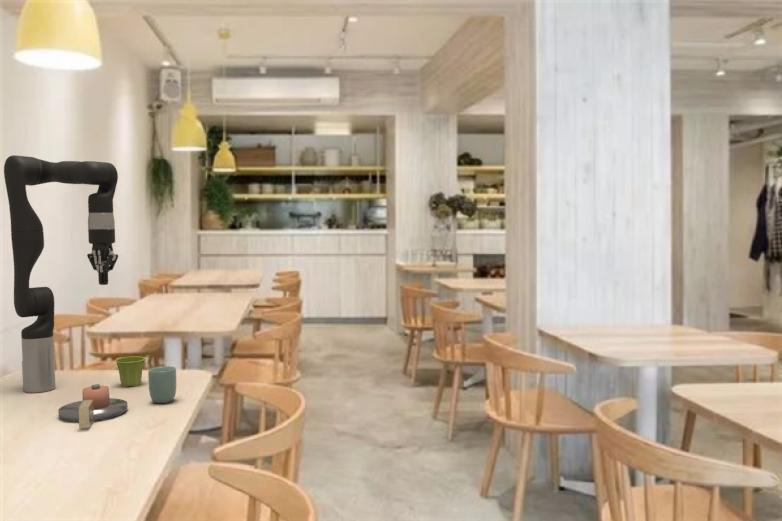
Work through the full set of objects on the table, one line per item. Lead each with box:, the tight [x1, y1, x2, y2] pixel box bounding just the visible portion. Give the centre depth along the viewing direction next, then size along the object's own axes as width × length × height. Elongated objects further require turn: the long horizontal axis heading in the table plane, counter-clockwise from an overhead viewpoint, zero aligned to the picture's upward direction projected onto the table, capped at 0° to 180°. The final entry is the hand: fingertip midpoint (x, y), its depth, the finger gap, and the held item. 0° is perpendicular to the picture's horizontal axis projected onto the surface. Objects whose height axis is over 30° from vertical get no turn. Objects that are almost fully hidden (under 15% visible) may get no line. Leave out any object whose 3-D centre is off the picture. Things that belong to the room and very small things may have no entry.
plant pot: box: [114, 355, 146, 388], centre depth 233 cm, size 9×9×9 cm
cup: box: [147, 365, 177, 404], centre depth 211 cm, size 8×8×10 cm
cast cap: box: [81, 383, 110, 409], centre depth 199 cm, size 7×7×6 cm
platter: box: [57, 397, 129, 430], centre depth 195 cm, size 18×25×6 cm
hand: (103, 284), depth 215 cm, fingers closed
